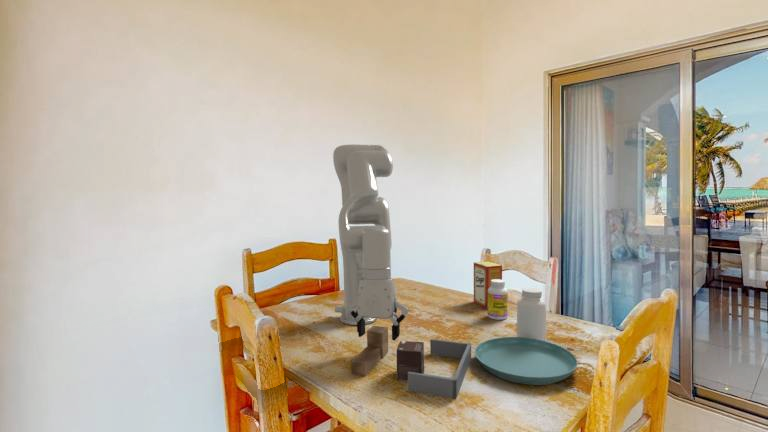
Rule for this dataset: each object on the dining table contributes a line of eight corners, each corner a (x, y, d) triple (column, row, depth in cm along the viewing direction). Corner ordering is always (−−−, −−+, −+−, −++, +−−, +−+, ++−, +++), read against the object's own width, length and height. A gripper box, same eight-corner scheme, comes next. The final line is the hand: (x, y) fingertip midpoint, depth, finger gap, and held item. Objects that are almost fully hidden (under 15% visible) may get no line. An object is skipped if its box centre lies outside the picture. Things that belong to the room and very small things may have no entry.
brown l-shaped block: (350, 374, 98) (349, 346, 97) (373, 350, 112) (373, 325, 112) (366, 376, 96) (366, 348, 96) (388, 352, 110) (388, 327, 110)
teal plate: (497, 341, 118) (498, 330, 117) (588, 363, 102) (588, 350, 102) (457, 370, 99) (457, 357, 99) (560, 402, 84) (561, 387, 84)
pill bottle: (545, 337, 120) (545, 287, 118) (546, 347, 112) (547, 294, 111) (517, 334, 122) (517, 286, 121) (516, 344, 115) (516, 292, 114)
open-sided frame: (407, 390, 89) (407, 373, 89) (431, 352, 109) (431, 338, 109) (456, 398, 85) (456, 380, 85) (471, 358, 106) (471, 343, 105)
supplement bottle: (490, 320, 135) (491, 283, 134) (485, 314, 142) (485, 278, 141) (510, 320, 135) (510, 282, 135) (504, 314, 142) (504, 278, 141)
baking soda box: (473, 301, 158) (473, 261, 157) (488, 300, 160) (488, 260, 159) (486, 308, 149) (486, 265, 148) (501, 306, 151) (502, 264, 150)
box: (421, 382, 93) (421, 351, 93) (396, 380, 94) (395, 350, 94) (424, 370, 99) (424, 341, 98) (400, 369, 100) (400, 340, 100)
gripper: (341, 275, 107) (343, 338, 108) (403, 278, 101) (404, 345, 102) (353, 270, 114) (354, 329, 115) (411, 272, 108) (413, 335, 109)
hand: (378, 337), depth 108 cm, fingers open, 9 cm apart
